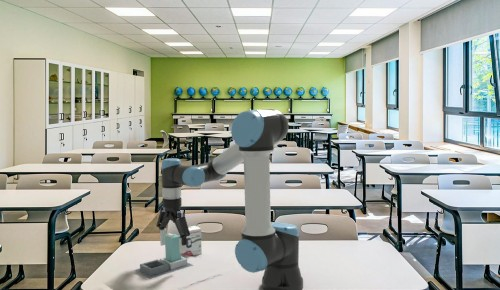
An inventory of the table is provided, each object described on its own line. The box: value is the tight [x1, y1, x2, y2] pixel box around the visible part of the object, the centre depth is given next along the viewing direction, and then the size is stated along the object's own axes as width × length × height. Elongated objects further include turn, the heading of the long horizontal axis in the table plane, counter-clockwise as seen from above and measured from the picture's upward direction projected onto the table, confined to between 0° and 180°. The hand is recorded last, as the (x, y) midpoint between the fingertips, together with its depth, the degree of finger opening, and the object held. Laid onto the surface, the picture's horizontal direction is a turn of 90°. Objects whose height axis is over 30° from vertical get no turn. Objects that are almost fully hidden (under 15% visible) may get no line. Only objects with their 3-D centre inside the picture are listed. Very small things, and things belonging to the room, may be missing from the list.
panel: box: [134, 255, 194, 280], centre depth 185 cm, size 12×20×4 cm, turn 134°
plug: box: [164, 232, 182, 263], centre depth 187 cm, size 4×4×13 cm
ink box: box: [181, 225, 203, 257], centre depth 203 cm, size 8×5×12 cm, turn 123°
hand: (173, 248), depth 187 cm, fingers open, 13 cm apart
